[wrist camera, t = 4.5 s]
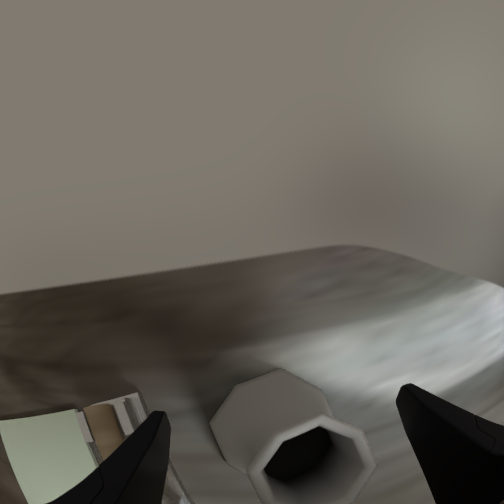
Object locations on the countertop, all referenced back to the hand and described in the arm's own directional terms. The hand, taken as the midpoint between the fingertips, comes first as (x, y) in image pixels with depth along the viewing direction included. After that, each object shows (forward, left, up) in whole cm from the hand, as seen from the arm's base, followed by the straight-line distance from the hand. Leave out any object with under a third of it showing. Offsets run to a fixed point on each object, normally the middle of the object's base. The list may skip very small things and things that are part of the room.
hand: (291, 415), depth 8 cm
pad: (-16, +7, -7) cm, 19 cm away
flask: (-1, -1, -7) cm, 7 cm away
